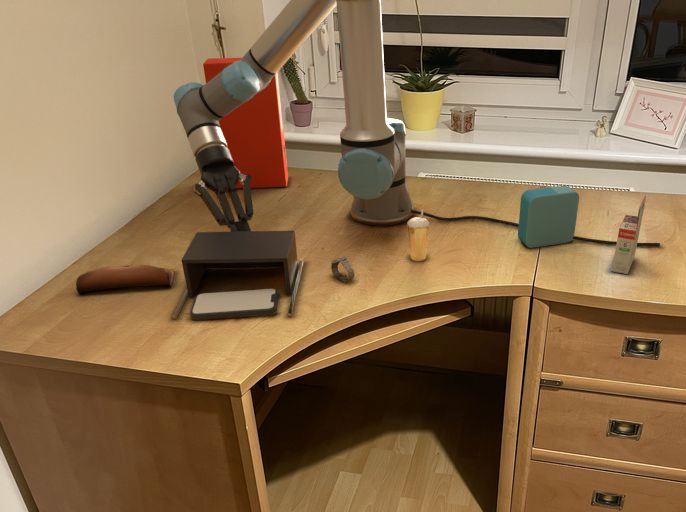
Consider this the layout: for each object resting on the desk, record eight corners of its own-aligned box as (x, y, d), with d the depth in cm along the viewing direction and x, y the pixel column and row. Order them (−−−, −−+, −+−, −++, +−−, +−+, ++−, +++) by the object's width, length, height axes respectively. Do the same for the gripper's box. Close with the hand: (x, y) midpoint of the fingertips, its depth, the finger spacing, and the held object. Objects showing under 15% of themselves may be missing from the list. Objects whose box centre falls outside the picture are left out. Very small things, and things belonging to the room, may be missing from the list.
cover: (298, 265, 150) (294, 230, 146) (291, 294, 139) (287, 257, 135) (203, 267, 150) (196, 232, 145) (188, 296, 139) (181, 259, 134)
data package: (564, 234, 163) (570, 184, 156) (573, 242, 159) (580, 191, 153) (516, 241, 160) (521, 190, 153) (525, 249, 156) (530, 197, 150)
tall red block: (226, 179, 197) (208, 57, 180) (288, 177, 198) (276, 56, 181) (222, 189, 190) (202, 64, 173) (286, 187, 191) (273, 62, 174)
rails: (303, 263, 151) (303, 260, 151) (291, 317, 132) (291, 314, 132) (199, 265, 151) (199, 262, 151) (172, 319, 132) (171, 316, 131)
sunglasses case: (175, 268, 149) (168, 250, 143) (175, 296, 146) (168, 279, 140) (86, 275, 146) (75, 257, 140) (84, 304, 143) (73, 287, 137)
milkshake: (432, 253, 155) (433, 210, 149) (424, 263, 151) (425, 219, 145) (412, 250, 156) (412, 208, 151) (404, 260, 152) (404, 217, 146)
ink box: (610, 272, 146) (621, 205, 138) (617, 256, 152) (628, 192, 145) (628, 275, 145) (641, 207, 137) (634, 259, 151) (647, 194, 143)
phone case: (190, 322, 131) (276, 316, 132) (188, 315, 130) (275, 309, 131) (197, 300, 139) (279, 294, 140) (196, 292, 138) (278, 287, 139)
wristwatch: (340, 272, 148) (339, 250, 145) (358, 282, 144) (357, 259, 141) (327, 277, 146) (325, 255, 143) (345, 287, 142) (343, 265, 139)
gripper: (237, 156, 159) (273, 251, 156) (180, 166, 153) (216, 264, 150) (242, 139, 152) (280, 237, 149) (183, 148, 146) (221, 251, 143)
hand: (248, 251), depth 150 cm, fingers closed
